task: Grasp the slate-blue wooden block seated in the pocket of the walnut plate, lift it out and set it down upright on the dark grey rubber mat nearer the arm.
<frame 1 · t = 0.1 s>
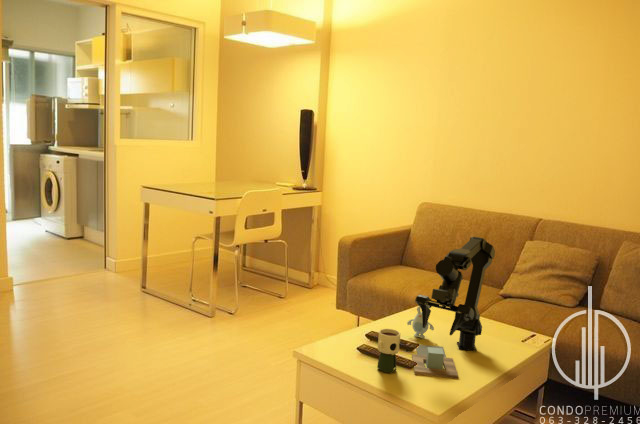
hand: (436, 331, 175), 15 cm above the table, tool tilted 30°, fingers open, 9 cm apart
walnut pocket plate: (434, 367, 183), on the table
toy figure: (419, 337, 210), on the table
character mug: (386, 370, 179), on the table
rubber mat: (430, 352, 196), on the table
slate block: (433, 367, 183), resting in walnut pocket plate
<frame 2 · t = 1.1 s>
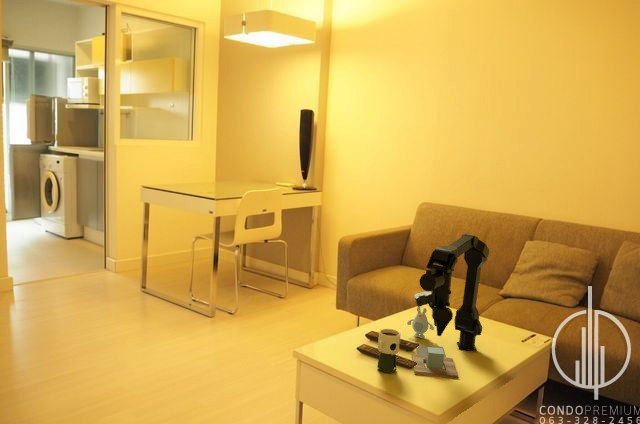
hand: (437, 330, 181), 13 cm above the table, tool pointing down, fingers open, 9 cm apart
nothing on the table moved.
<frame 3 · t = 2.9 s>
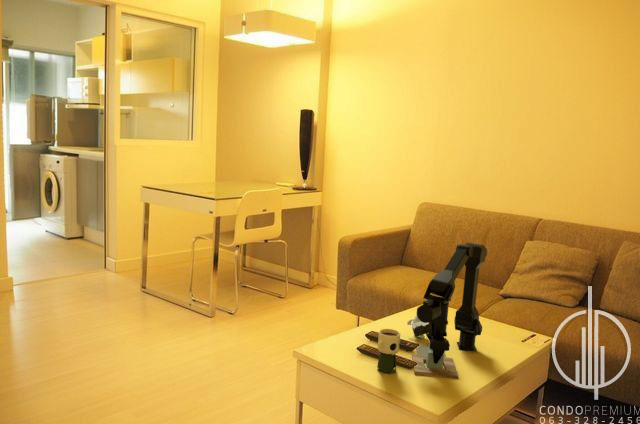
hand: (434, 360, 183), 3 cm above the table, tool pointing down, fingers closed on slate block, 5 cm apart
slate block: (433, 367, 183), resting in walnut pocket plate, touching gripper
everything else where it was.
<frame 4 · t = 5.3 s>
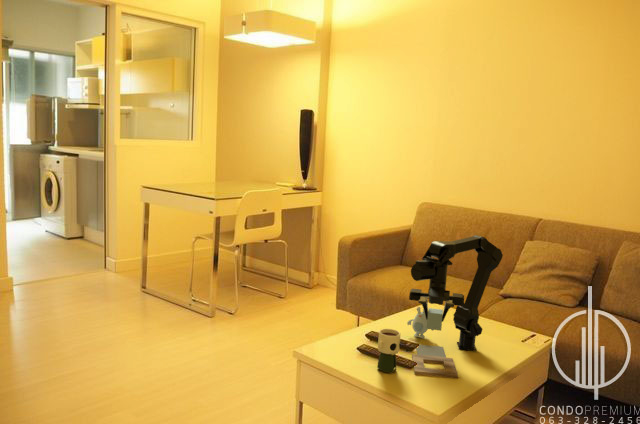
hand: (434, 320, 192), 13 cm above the table, tool pointing down, fingers closed on slate block, 5 cm apart
slate block: (434, 327, 192), point 10 cm above the table, touching gripper
everything else where it was.
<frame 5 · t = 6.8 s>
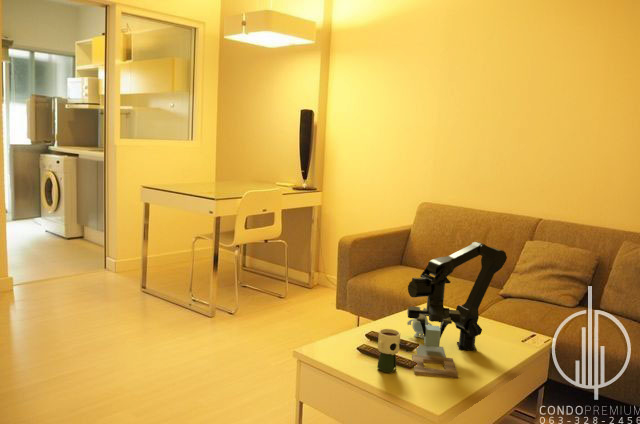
hand: (432, 337, 195), 6 cm above the table, tool pointing down, fingers closed on slate block, 5 cm apart
slate block: (431, 343, 196), point 3 cm above the table, touching gripper
everything else where it was.
when the fingers open (4 cm above the table, at t = 7.9 s): slate block drops 1 cm, resting on rubber mat.
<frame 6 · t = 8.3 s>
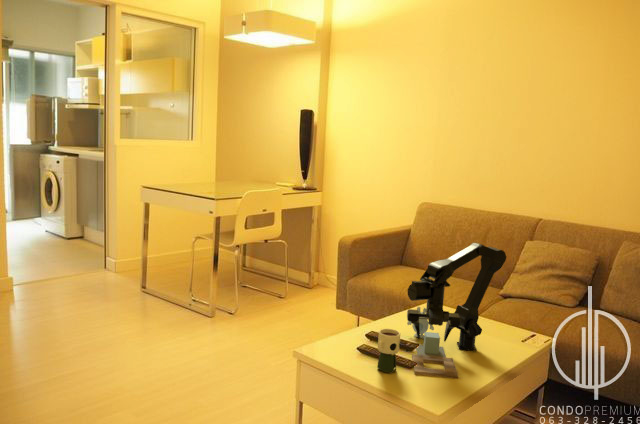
hand: (431, 340, 195), 4 cm above the table, tool pointing down, fingers open, 9 cm apart
slate block: (430, 350, 196), resting on rubber mat
everything else where it was.
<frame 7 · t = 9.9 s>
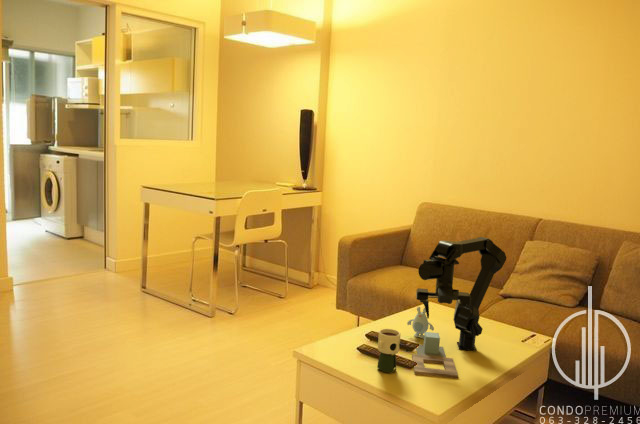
hand: (441, 319, 193), 13 cm above the table, tool pointing down, fingers open, 9 cm apart
nothing on the table moved.
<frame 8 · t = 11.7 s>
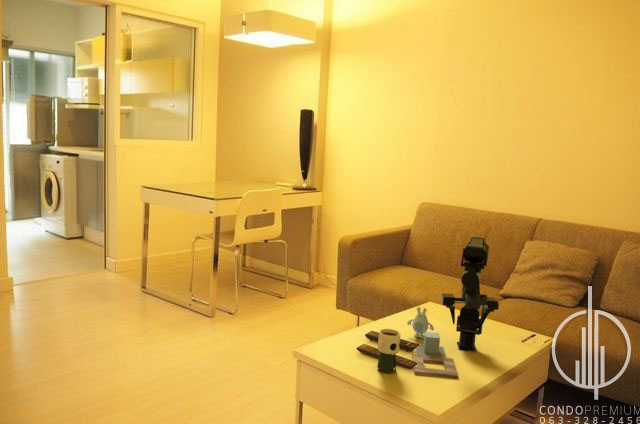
hand: (467, 325, 188), 13 cm above the table, tool pointing down, fingers open, 9 cm apart
nothing on the table moved.
at the end: slate block 0.0 cm off-centre on the rubber mat, point 0.5 cm above the rubber mat's base; slate block tilted 0°; the gripper is holding nothing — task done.
